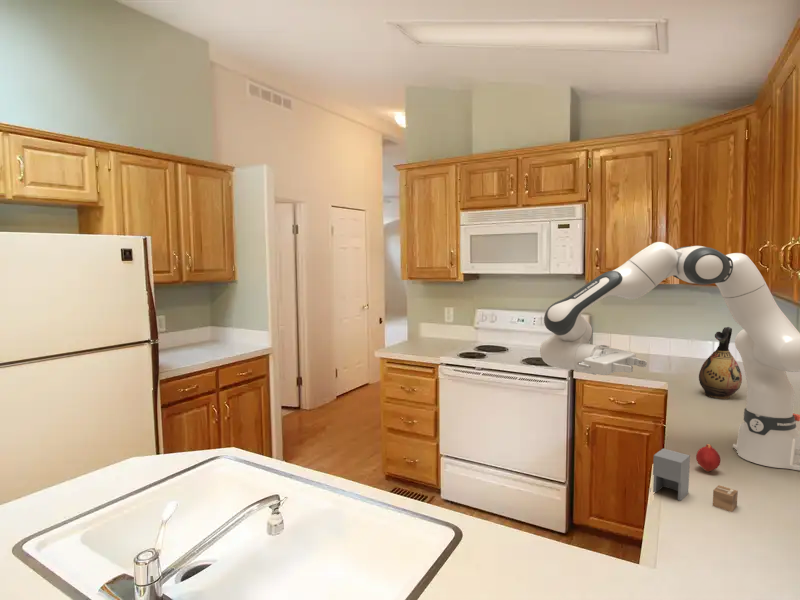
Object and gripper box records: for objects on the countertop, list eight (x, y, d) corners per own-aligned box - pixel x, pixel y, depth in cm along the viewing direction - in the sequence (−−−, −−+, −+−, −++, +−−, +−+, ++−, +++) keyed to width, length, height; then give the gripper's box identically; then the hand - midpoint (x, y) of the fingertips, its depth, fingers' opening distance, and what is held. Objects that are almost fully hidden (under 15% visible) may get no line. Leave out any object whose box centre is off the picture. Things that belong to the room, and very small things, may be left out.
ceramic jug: (734, 404, 198) (738, 331, 196) (692, 396, 210) (696, 327, 207) (746, 395, 210) (750, 327, 207) (705, 388, 221) (709, 323, 219)
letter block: (718, 500, 121) (718, 484, 121) (736, 506, 118) (737, 490, 118) (712, 505, 118) (713, 489, 118) (731, 512, 115) (732, 495, 115)
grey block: (661, 484, 129) (663, 448, 128) (688, 493, 125) (690, 455, 124) (652, 492, 125) (653, 455, 124) (679, 501, 120) (681, 462, 119)
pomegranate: (697, 465, 141) (698, 438, 140) (721, 470, 138) (722, 443, 137) (694, 472, 137) (695, 444, 136) (718, 477, 133) (719, 449, 132)
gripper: (574, 353, 138) (623, 361, 128) (606, 344, 152) (653, 350, 142) (573, 375, 139) (622, 384, 129) (606, 364, 153) (652, 371, 142)
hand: (639, 366), depth 135 cm, fingers open, 8 cm apart
